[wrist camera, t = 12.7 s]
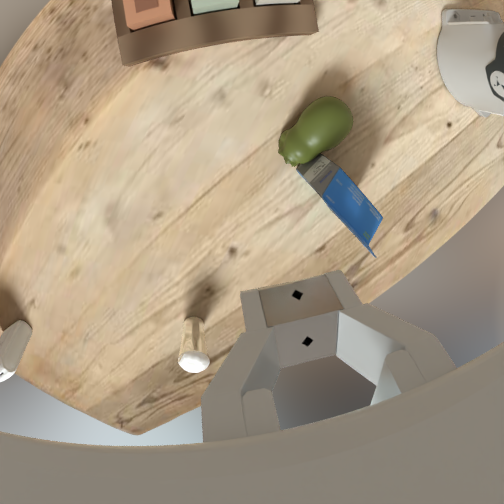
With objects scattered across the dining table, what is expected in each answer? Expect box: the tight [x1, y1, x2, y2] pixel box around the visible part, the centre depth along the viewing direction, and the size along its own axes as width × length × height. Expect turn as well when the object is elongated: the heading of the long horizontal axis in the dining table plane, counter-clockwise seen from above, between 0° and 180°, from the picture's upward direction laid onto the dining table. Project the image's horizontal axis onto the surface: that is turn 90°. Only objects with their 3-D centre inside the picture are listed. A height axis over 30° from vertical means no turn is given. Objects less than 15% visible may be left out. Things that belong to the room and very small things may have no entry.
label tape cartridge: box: [296, 153, 383, 258], centre depth 33 cm, size 9×4×12 cm, turn 47°
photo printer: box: [0, 320, 32, 382], centre depth 40 cm, size 10×4×12 cm, turn 117°
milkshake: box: [177, 316, 210, 373], centre depth 44 cm, size 5×5×10 cm
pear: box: [278, 96, 353, 167], centre depth 33 cm, size 6×5×10 cm
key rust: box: [123, 0, 176, 31], centre depth 22 cm, size 4×4×5 cm
